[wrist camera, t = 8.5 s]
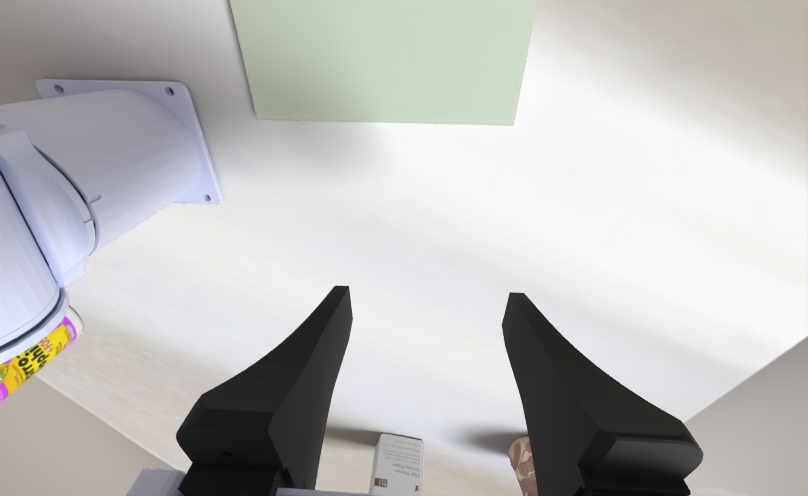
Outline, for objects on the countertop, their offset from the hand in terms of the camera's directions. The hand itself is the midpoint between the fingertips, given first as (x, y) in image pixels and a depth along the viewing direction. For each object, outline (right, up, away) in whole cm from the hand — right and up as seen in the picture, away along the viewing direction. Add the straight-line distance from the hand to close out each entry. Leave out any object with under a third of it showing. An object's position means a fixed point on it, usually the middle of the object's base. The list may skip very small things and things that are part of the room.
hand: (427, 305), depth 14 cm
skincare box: (-2, -24, +28) cm, 37 cm away
